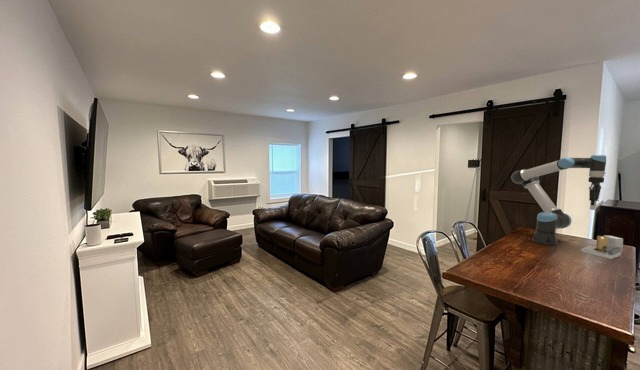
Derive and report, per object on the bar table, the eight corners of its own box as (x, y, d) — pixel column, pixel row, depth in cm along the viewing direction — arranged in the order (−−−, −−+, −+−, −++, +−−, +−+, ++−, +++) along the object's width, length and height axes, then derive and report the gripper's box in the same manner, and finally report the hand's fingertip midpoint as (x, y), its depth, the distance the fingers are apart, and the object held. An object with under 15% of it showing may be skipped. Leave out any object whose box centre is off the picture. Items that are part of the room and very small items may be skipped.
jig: (581, 251, 184) (581, 244, 183) (590, 248, 190) (591, 241, 190) (611, 259, 170) (612, 251, 170) (620, 255, 177) (621, 247, 176)
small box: (622, 253, 181) (623, 238, 180) (613, 253, 181) (615, 238, 180) (609, 249, 189) (611, 235, 188) (601, 249, 189) (603, 235, 188)
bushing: (604, 255, 177) (606, 238, 176) (594, 253, 181) (595, 236, 180) (607, 254, 179) (609, 237, 178) (597, 252, 184) (599, 235, 182)
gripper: (600, 177, 177) (596, 211, 180) (607, 177, 183) (603, 209, 185) (585, 176, 184) (581, 209, 186) (593, 176, 190) (589, 208, 192)
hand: (592, 209), depth 186 cm, fingers closed
